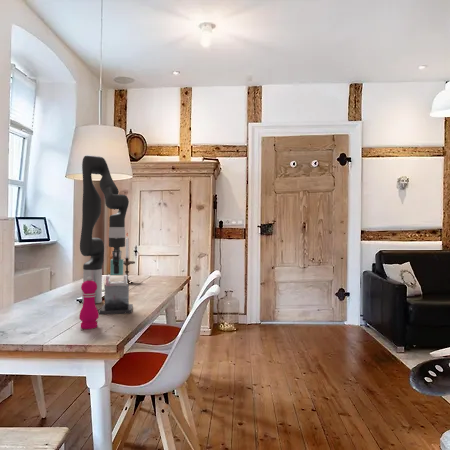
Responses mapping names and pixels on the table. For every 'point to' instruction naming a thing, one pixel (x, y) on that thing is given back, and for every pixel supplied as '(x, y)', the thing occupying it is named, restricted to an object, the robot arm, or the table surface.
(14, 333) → the table surface
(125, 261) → the candlestick
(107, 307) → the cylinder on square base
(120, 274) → the turquoise cube
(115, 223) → the robot arm
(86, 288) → the pepper mill
